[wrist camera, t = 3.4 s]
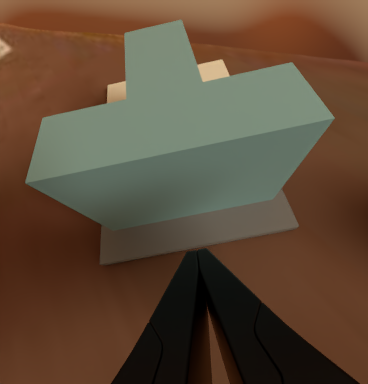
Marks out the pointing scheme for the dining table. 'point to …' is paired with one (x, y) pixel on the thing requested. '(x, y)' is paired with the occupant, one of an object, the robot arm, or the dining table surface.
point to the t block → (178, 138)
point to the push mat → (195, 224)
